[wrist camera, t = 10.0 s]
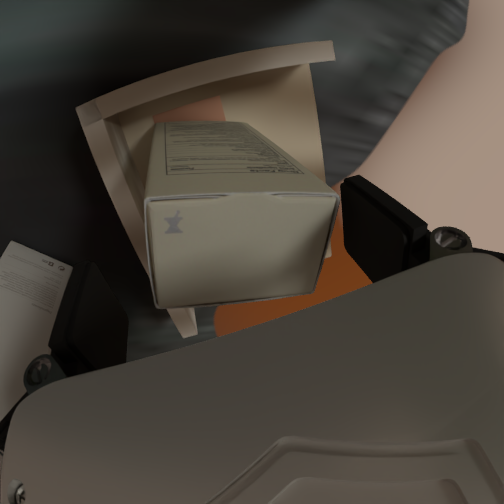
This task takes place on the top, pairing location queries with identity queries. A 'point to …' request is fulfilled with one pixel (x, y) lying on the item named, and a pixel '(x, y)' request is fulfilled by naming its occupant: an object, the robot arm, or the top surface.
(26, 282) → the skincare box
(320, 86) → the top surface
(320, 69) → the top surface
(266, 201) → the skincare box
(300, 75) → the tray
